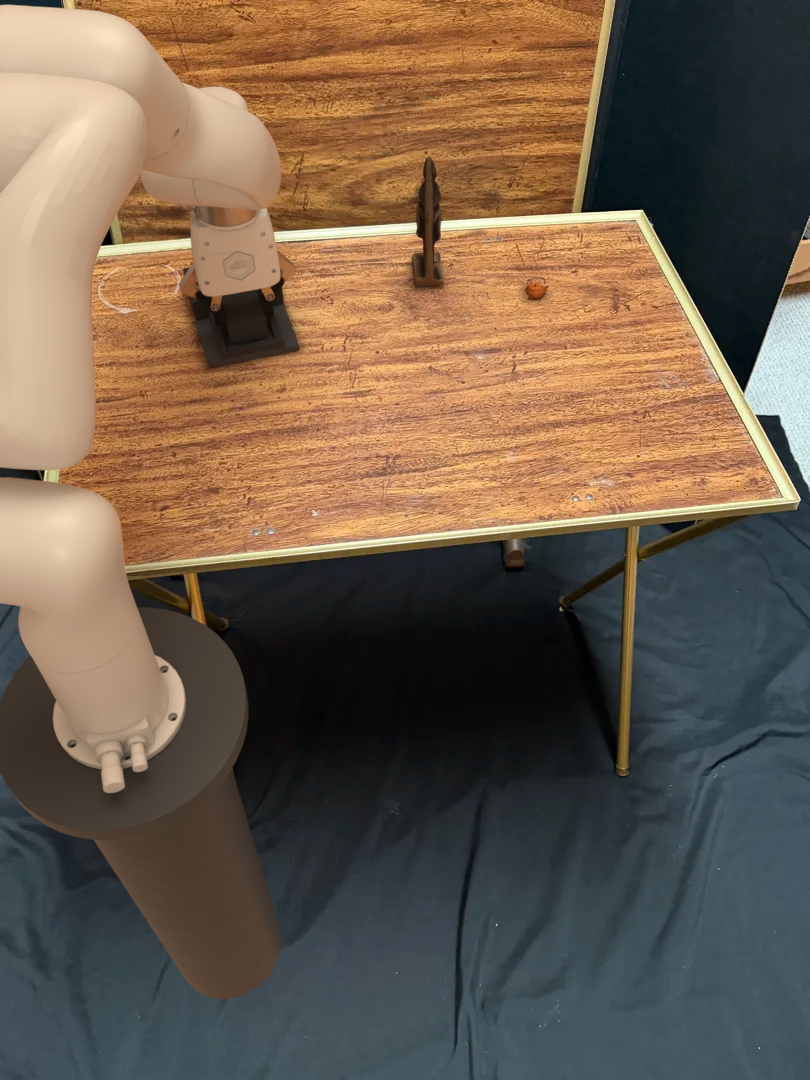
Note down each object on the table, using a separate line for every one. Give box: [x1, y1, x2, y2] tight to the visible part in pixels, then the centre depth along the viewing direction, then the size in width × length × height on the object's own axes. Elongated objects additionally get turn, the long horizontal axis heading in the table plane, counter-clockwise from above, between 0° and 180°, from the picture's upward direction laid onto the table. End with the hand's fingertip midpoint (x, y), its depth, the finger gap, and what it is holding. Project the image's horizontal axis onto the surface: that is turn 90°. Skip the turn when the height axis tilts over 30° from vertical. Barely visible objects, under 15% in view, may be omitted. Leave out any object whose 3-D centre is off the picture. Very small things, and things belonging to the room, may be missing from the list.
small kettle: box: [523, 276, 550, 301], centre depth 134 cm, size 3×3×3 cm
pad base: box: [182, 266, 300, 369], centre depth 129 cm, size 16×12×4 cm
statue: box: [411, 156, 445, 287], centre depth 129 cm, size 4×7×20 cm, turn 5°
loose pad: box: [222, 291, 269, 344], centre depth 127 cm, size 6×5×3 cm
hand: (244, 322), depth 127 cm, fingers closed on loose pad, 4 cm apart
